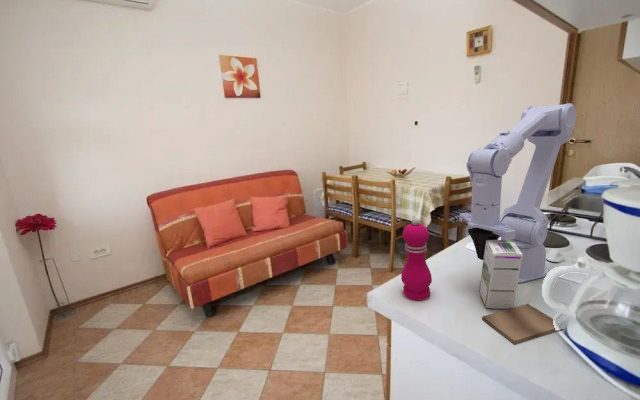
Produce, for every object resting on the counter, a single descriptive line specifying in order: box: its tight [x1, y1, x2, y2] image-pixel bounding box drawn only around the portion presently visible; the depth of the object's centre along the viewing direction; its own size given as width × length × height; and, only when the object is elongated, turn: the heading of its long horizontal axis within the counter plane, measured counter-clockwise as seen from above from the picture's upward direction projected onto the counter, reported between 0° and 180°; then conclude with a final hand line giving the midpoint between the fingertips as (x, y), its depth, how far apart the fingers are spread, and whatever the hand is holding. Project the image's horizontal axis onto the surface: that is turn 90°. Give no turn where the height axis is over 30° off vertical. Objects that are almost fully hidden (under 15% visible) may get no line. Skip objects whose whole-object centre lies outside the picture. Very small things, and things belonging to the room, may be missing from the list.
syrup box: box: [478, 239, 523, 310], centre depth 67 cm, size 6×6×14 cm
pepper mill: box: [400, 217, 433, 301], centre depth 74 cm, size 7×7×20 cm
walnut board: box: [481, 303, 556, 345], centre depth 62 cm, size 12×8×1 cm, turn 105°
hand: (483, 258), depth 72 cm, fingers closed
